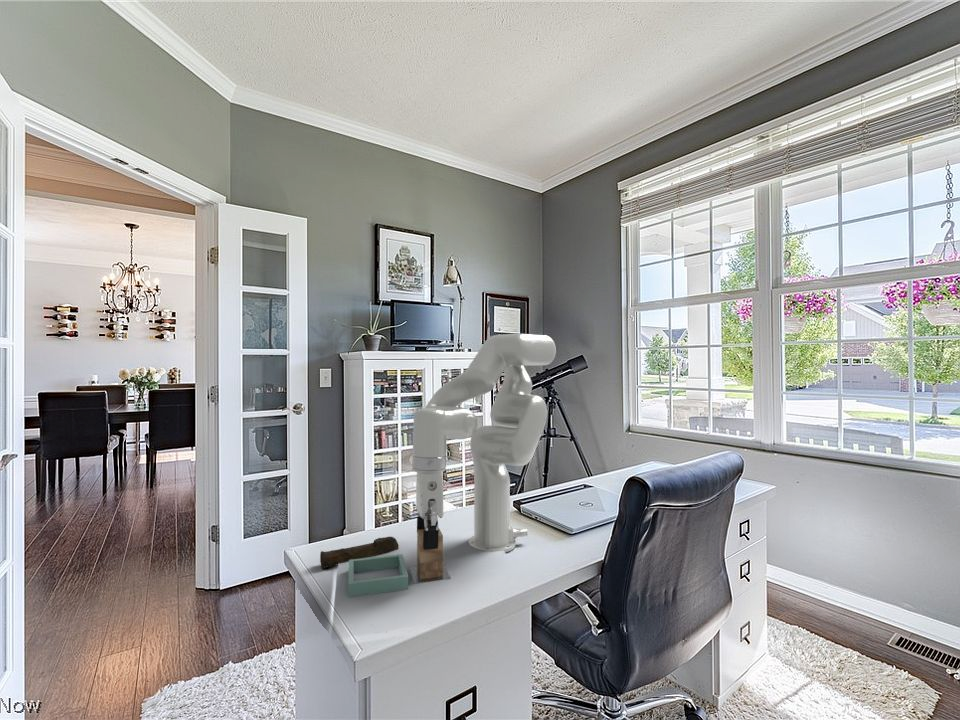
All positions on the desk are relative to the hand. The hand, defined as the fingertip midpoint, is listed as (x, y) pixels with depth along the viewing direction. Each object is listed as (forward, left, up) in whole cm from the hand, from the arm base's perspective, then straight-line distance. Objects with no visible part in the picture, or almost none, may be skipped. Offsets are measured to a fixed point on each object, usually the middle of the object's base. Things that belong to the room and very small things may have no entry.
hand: (426, 540), depth 100 cm
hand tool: (+14, -15, -9) cm, 22 cm away
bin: (+11, -1, -8) cm, 14 cm away
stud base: (-1, -1, -8) cm, 8 cm away
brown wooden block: (-1, -1, -7) cm, 7 cm away
